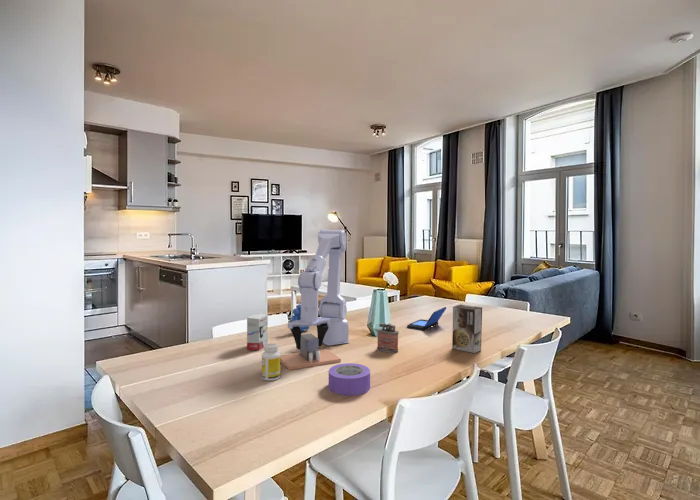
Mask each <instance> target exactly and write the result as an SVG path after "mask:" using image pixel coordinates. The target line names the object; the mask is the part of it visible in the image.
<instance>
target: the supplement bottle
mask: <svg viewBox="0 0 700 500" xmlns="http://www.w3.org/2000/svg"><path fill="white" fill-rule="evenodd" d="M278 349H279V345H278V344H277V343H268V344H266V345H264V347H263V351H264V352H263V353H261V379H262V380H263V381H268V382H269V381H270V382H271V381H272V382H273V381H276V380H279V379H280V378H281V361H280V355H281V353H280V352H279V351H278Z"/></svg>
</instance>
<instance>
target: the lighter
mask: <svg viewBox="0 0 700 500" xmlns="http://www.w3.org/2000/svg"><path fill="white" fill-rule="evenodd" d="M378 327H380V328H377V330H376V333H377V347H376V350H377V351H379V352H384V353H393V354H394V353H395V354H396V353H399V334H400V333H399V331H398V330H396V324H392V323H385V322H380V323H379V324H378Z"/></svg>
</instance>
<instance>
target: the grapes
mask: <svg viewBox="0 0 700 500" xmlns="http://www.w3.org/2000/svg"><path fill="white" fill-rule="evenodd" d="M292 314H293V315H292V316H291V321H296V320H301V304H298V305H297V307H296V308H293V309H292ZM299 328H300V330H301V331H302V333H303V332H305V331H308V330H309V329H310V328H311V326H306V327H299Z"/></svg>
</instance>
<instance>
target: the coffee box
mask: <svg viewBox="0 0 700 500" xmlns="http://www.w3.org/2000/svg"><path fill="white" fill-rule="evenodd" d="M482 323H483V307H481V306H474V305H467V304H458V305H455V306H452V335H451V336H452V337H451V339H452V342H451V345H452V346H451V348H452V349H453V350H456V351H457V350H458V351H462V352H466V353H471V354H476V353H478V352H479V351H482V335H483V334H482V332H483V330H482V329H483V324H482Z"/></svg>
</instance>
